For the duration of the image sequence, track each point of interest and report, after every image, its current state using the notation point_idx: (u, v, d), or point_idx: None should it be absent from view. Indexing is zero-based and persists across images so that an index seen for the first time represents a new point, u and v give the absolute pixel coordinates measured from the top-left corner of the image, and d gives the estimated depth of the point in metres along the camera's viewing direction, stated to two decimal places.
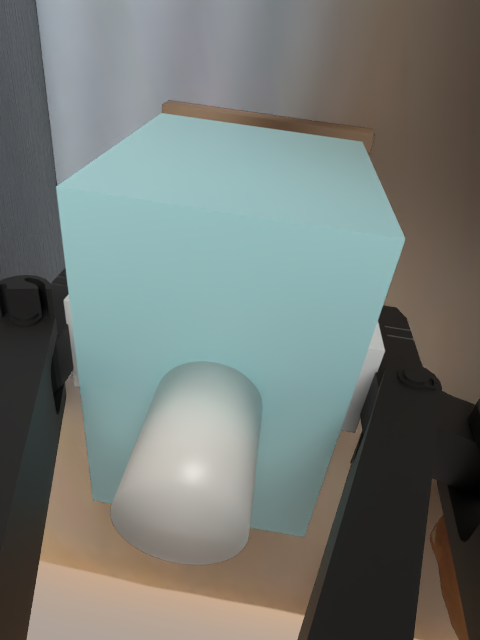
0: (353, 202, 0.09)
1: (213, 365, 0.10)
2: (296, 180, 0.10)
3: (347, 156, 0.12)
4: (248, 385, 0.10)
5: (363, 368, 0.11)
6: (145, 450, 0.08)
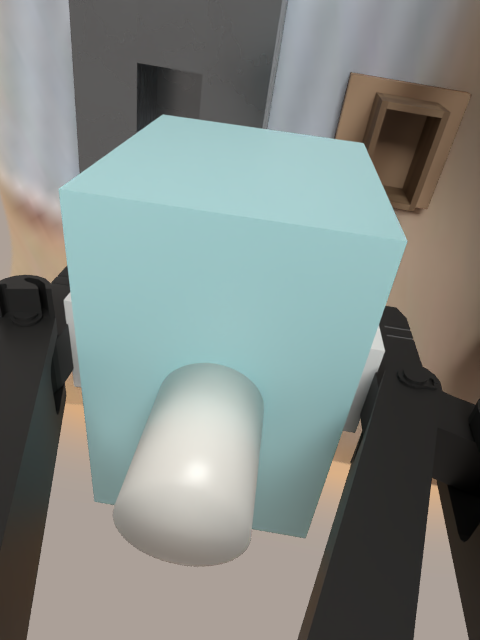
0: (355, 204, 0.09)
1: (215, 367, 0.10)
2: (298, 183, 0.10)
3: (348, 157, 0.12)
4: (250, 387, 0.10)
5: None
6: (147, 452, 0.08)
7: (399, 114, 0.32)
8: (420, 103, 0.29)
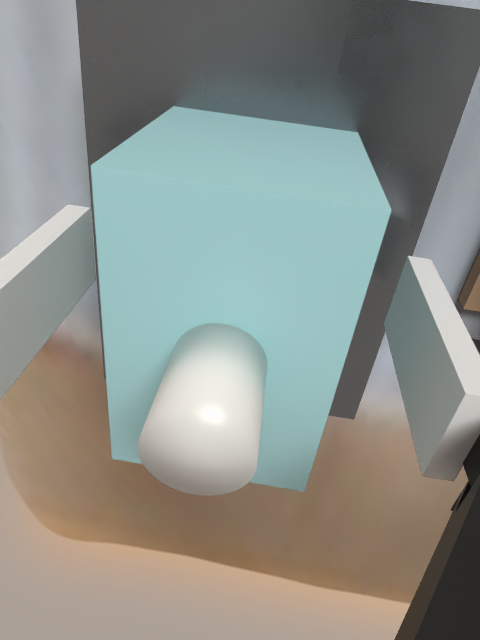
0: (347, 181, 0.10)
1: (224, 327, 0.11)
2: (297, 163, 0.11)
3: (343, 144, 0.13)
4: (255, 344, 0.11)
5: (474, 416, 0.10)
6: (167, 393, 0.09)
7: None
8: None
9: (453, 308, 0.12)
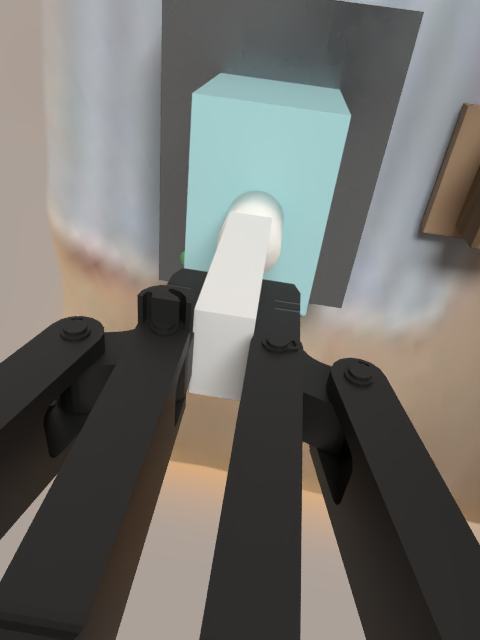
0: (329, 106, 0.18)
1: (259, 193, 0.19)
2: (301, 98, 0.19)
3: (329, 93, 0.21)
4: (277, 202, 0.19)
5: (239, 336, 0.11)
6: None
7: None
8: None
9: (263, 254, 0.14)
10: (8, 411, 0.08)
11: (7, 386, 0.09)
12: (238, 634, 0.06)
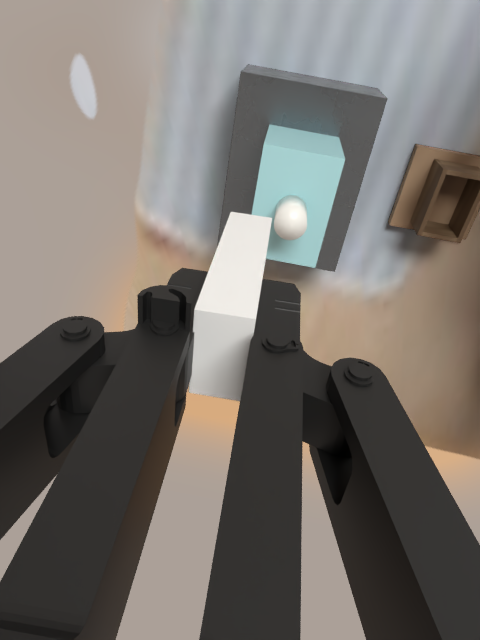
0: (333, 152, 0.35)
1: (294, 196, 0.35)
2: (318, 146, 0.35)
3: (333, 141, 0.37)
4: (304, 202, 0.35)
5: (239, 336, 0.11)
6: (282, 207, 0.34)
7: None
8: (467, 169, 0.42)
9: (263, 254, 0.14)
10: (8, 411, 0.08)
11: (7, 386, 0.09)
12: (238, 634, 0.06)
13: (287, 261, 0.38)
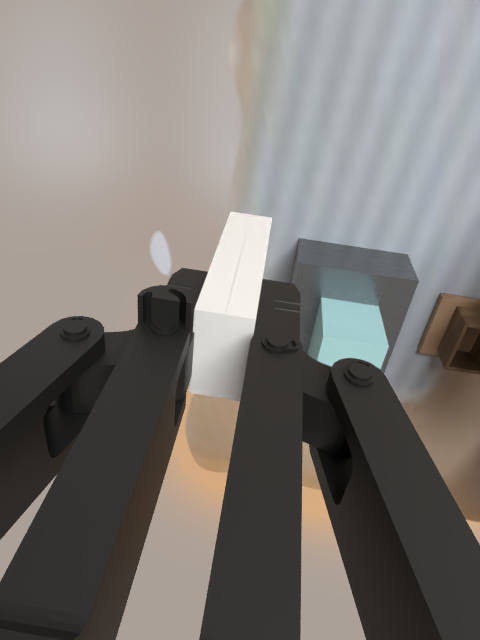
0: (378, 336, 0.43)
1: None
2: (365, 329, 0.44)
3: (375, 315, 0.46)
4: None
5: (239, 336, 0.11)
6: None
7: None
8: None
9: (263, 254, 0.14)
10: (8, 411, 0.08)
11: (7, 386, 0.09)
12: (238, 634, 0.06)
13: None
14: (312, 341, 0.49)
